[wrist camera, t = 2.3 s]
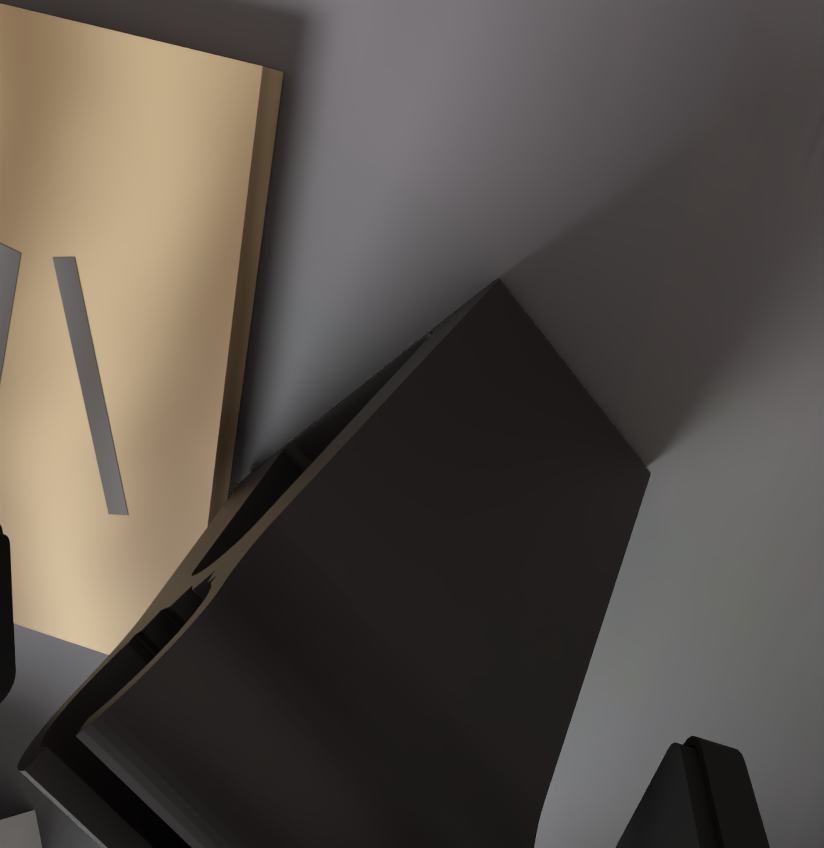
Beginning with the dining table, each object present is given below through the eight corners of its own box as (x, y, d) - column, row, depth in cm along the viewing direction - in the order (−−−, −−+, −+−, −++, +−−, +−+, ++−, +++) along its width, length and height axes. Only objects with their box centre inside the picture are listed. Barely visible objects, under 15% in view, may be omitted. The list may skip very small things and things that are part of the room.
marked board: (283, 72, 16) (262, 65, 14) (207, 655, 22) (188, 682, 21) (-225, -50, 17) (-281, -65, 16) (-153, 537, 24) (-188, 556, 22)
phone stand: (501, 274, 16) (380, 532, 5) (649, 468, 17) (805, 1022, 6) (244, 474, 20) (-155, 884, 9) (381, 627, 21) (176, 1168, 10)
